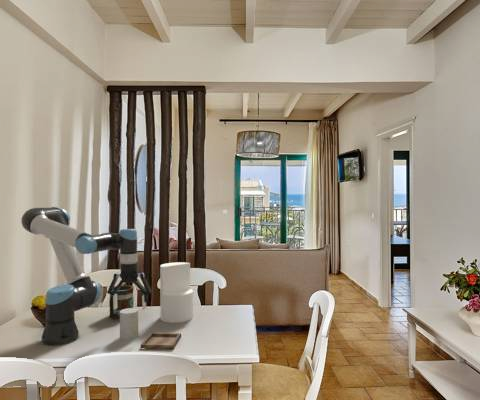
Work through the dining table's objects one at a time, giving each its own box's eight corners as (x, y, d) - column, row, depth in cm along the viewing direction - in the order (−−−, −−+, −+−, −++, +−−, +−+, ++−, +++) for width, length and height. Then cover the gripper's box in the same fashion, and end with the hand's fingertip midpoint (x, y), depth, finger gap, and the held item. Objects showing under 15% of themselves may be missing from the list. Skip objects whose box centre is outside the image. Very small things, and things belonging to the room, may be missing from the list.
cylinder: (154, 317, 196) (154, 264, 196) (181, 310, 207) (181, 261, 207) (171, 325, 183) (171, 269, 183) (199, 317, 194) (199, 265, 195)
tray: (140, 348, 154) (140, 344, 154) (151, 336, 168) (151, 332, 168) (173, 349, 152) (173, 345, 153) (181, 337, 166) (181, 333, 166)
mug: (115, 311, 206) (115, 284, 206) (138, 312, 204) (138, 285, 204) (98, 323, 186) (98, 293, 186) (123, 323, 185) (123, 294, 185)
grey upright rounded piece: (133, 340, 162) (132, 313, 162) (116, 339, 164) (116, 312, 164) (141, 334, 170) (141, 308, 170) (125, 333, 172) (125, 307, 172)
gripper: (99, 264, 165) (99, 311, 164) (152, 263, 163) (153, 311, 162) (106, 261, 172) (107, 306, 172) (158, 261, 170) (158, 306, 170)
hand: (129, 308), depth 167 cm, fingers open, 13 cm apart
